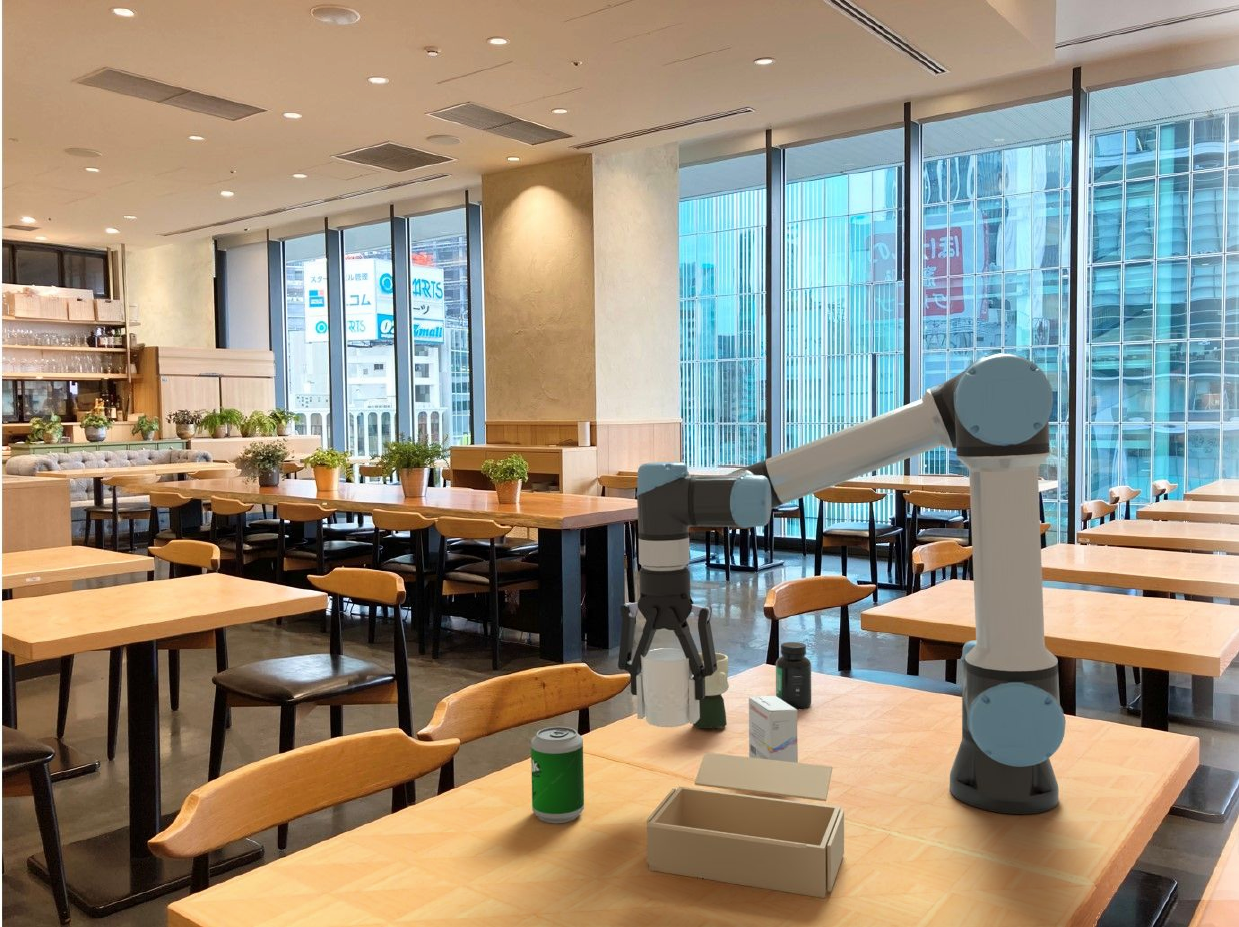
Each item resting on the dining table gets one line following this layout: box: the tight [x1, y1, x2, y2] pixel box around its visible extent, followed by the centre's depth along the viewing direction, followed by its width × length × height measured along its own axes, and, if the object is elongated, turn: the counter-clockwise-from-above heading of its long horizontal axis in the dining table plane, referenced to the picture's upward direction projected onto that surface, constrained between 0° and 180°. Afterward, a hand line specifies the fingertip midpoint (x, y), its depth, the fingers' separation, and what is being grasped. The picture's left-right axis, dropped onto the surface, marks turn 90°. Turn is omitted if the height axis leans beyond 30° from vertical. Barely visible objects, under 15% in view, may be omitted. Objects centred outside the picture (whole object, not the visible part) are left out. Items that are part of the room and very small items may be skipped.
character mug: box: [692, 652, 730, 729], centre depth 180 cm, size 11×7×13 cm, turn 26°
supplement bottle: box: [775, 641, 812, 710], centre depth 193 cm, size 7×7×12 cm
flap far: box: [694, 752, 833, 802], centre depth 136 cm, size 18×1×6 cm
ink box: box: [748, 695, 799, 763], centre depth 156 cm, size 8×5×12 cm, turn 16°
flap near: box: [646, 822, 806, 848], centre depth 117 cm, size 18×1×6 cm
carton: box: [646, 786, 845, 899], centre depth 127 cm, size 23×13×6 cm, turn 69°
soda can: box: [530, 726, 585, 824], centre depth 142 cm, size 8×8×12 cm
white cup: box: [641, 647, 693, 728], centre depth 147 cm, size 8×8×10 cm
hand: (668, 718), depth 147 cm, fingers closed on white cup, 7 cm apart
